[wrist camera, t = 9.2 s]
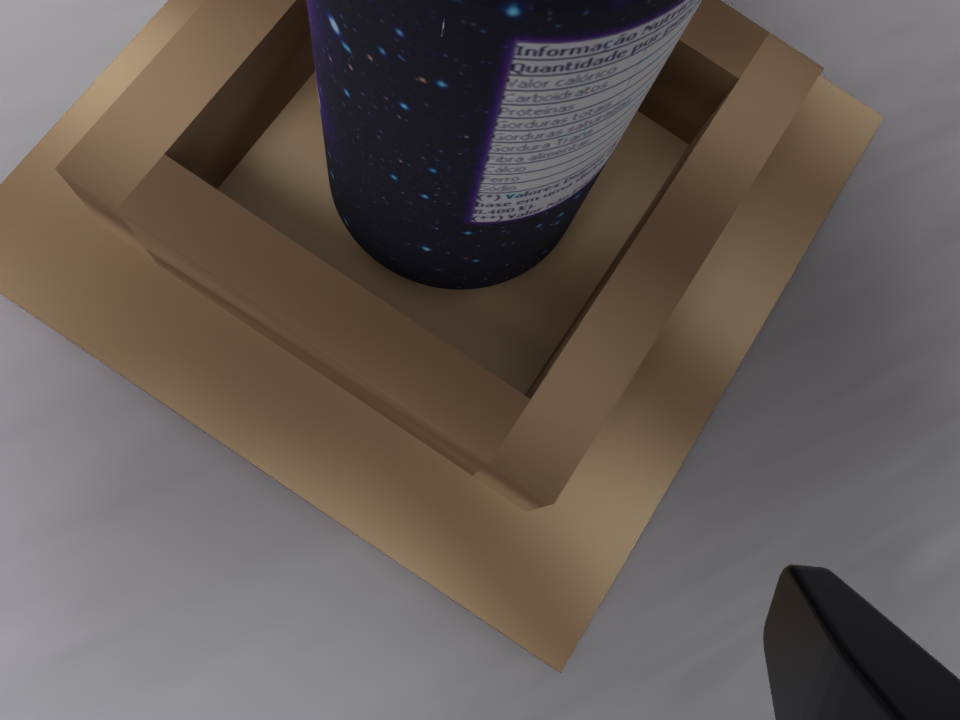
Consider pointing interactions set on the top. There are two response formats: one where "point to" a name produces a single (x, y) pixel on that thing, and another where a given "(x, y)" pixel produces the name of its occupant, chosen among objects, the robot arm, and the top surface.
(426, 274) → the beverage can
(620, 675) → the top surface
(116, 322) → the socket board
